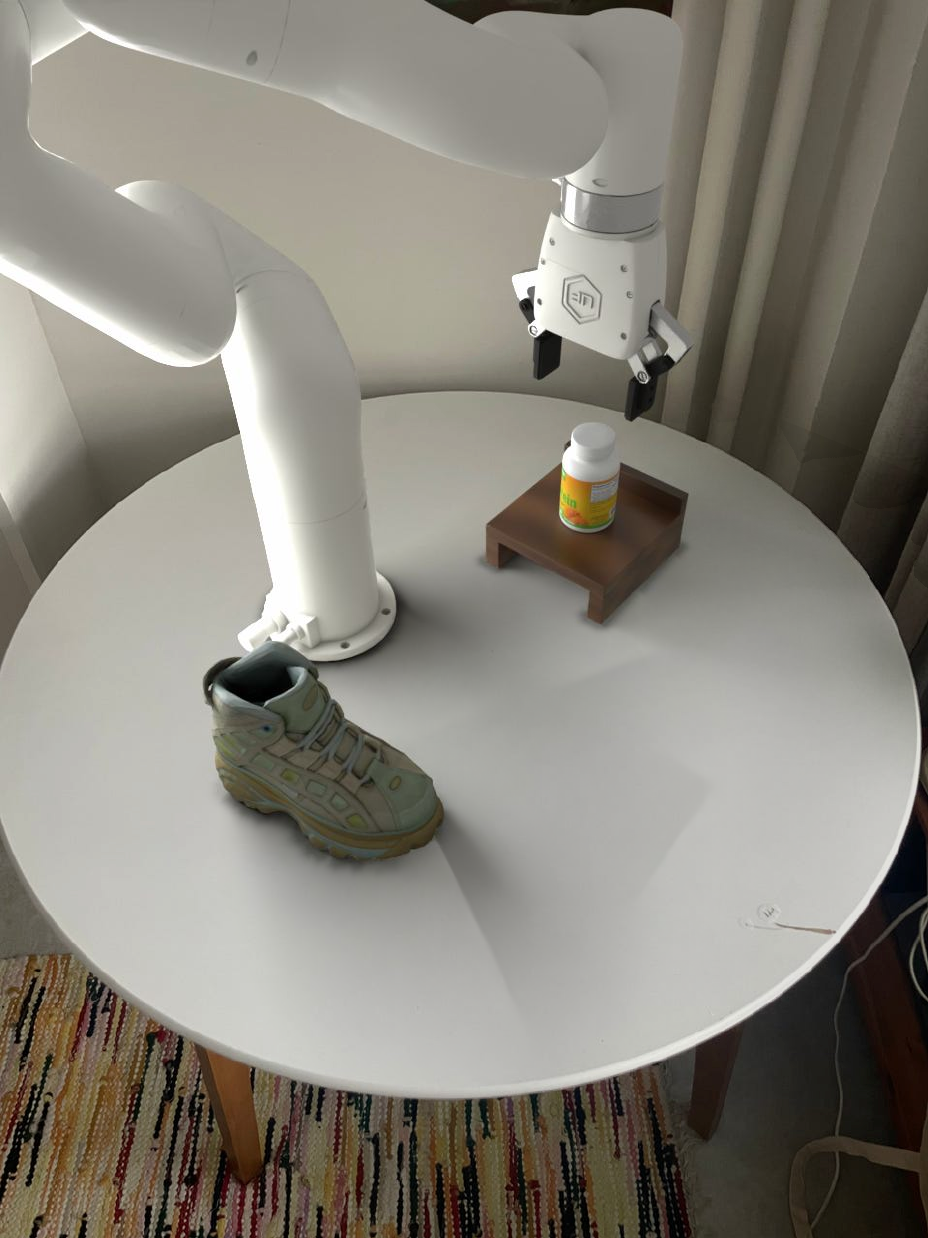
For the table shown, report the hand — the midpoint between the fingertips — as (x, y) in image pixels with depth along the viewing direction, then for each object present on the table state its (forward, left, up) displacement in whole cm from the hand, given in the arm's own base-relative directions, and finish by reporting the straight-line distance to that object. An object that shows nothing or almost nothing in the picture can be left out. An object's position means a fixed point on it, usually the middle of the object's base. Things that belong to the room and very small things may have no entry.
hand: (590, 392), depth 90 cm
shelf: (0, 0, -19) cm, 19 cm away
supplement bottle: (+1, 0, -15) cm, 15 cm away
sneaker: (-37, -1, -20) cm, 41 cm away
